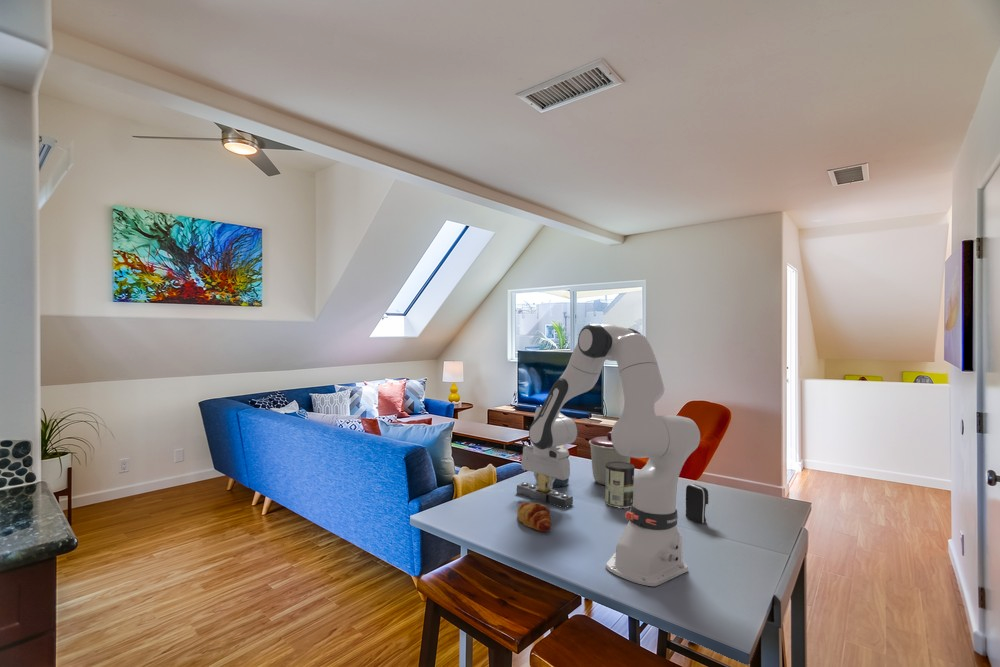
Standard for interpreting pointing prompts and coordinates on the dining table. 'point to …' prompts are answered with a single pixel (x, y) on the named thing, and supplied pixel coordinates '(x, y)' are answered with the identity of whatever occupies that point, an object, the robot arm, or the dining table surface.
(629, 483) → the coffee can
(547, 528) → the croissant
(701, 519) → the battery charger
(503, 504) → the dining table surface
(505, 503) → the dining table surface
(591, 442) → the canister
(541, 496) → the silver studded bar
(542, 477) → the gold rectangular block
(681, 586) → the dining table surface
